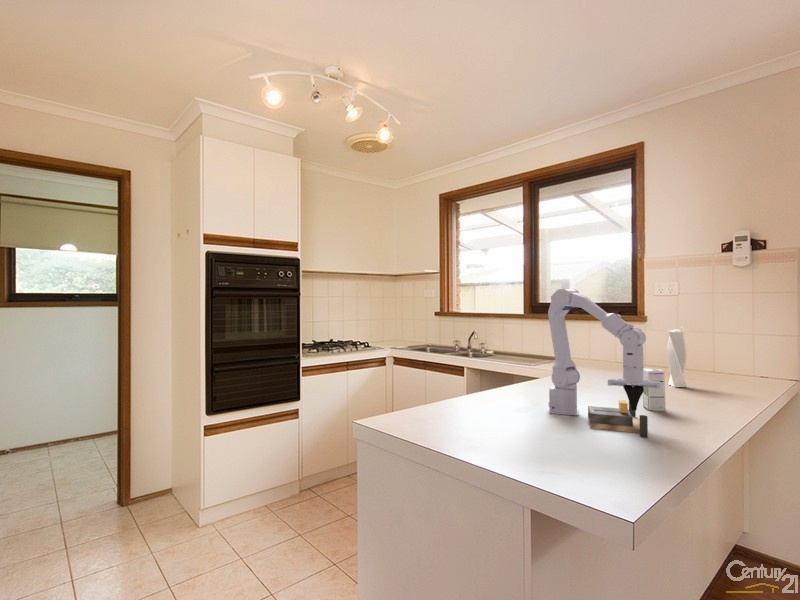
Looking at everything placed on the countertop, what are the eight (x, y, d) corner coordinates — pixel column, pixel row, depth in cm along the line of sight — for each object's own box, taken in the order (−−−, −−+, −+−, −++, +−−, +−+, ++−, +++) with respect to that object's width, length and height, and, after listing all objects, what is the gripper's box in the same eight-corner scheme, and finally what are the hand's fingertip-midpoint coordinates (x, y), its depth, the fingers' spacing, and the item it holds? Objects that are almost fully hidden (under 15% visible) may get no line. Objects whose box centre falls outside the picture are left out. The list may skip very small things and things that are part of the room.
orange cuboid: (620, 412, 131) (620, 403, 131) (618, 409, 135) (618, 400, 135) (627, 413, 130) (627, 403, 131) (625, 409, 135) (625, 400, 135)
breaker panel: (590, 428, 130) (590, 415, 130) (587, 415, 144) (587, 404, 144) (645, 433, 124) (645, 419, 124) (637, 420, 138) (637, 407, 138)
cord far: (629, 417, 141) (629, 400, 141) (628, 416, 143) (628, 398, 143) (636, 418, 140) (635, 400, 140) (635, 416, 142) (635, 399, 142)
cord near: (640, 437, 121) (640, 416, 121) (639, 435, 122) (639, 414, 123) (648, 438, 120) (648, 417, 120) (647, 436, 122) (646, 415, 122)
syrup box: (666, 411, 149) (665, 371, 149) (648, 410, 150) (647, 370, 150) (659, 407, 154) (659, 368, 155) (642, 406, 156) (641, 368, 156)
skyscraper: (691, 388, 188) (690, 326, 188) (674, 388, 188) (674, 326, 188) (679, 384, 196) (679, 325, 196) (663, 385, 196) (663, 325, 196)
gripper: (608, 367, 131) (609, 410, 131) (662, 369, 126) (662, 414, 125) (606, 364, 137) (607, 405, 137) (657, 366, 132) (657, 409, 132)
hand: (633, 409), depth 132 cm, fingers closed
